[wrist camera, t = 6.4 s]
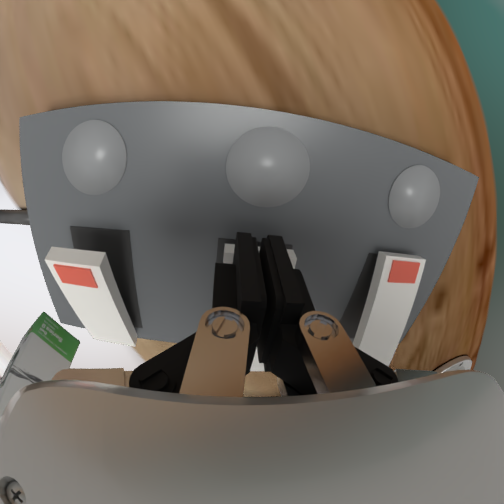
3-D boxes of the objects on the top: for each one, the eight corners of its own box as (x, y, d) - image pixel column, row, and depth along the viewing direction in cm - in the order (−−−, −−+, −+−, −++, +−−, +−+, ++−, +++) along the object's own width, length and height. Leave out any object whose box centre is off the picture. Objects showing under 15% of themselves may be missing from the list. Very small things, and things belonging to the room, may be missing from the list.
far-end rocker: (381, 362, 16) (387, 370, 15) (344, 366, 15) (349, 375, 14) (417, 255, 14) (427, 260, 13) (378, 251, 13) (387, 255, 12)
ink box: (44, 308, 19) (-9, 414, 8) (83, 342, 21) (45, 450, 11) (22, 336, 21) (-16, 418, 11) (53, 362, 23) (24, 446, 13)
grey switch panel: (386, 318, 21) (400, 344, 19) (21, 285, 17) (5, 308, 14) (450, 163, 14) (479, 177, 11) (-9, 125, 10) (-38, 135, 7)
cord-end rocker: (137, 335, 15) (135, 348, 15) (96, 328, 15) (93, 340, 14) (105, 252, 10) (98, 268, 9) (51, 246, 10) (43, 261, 9)
